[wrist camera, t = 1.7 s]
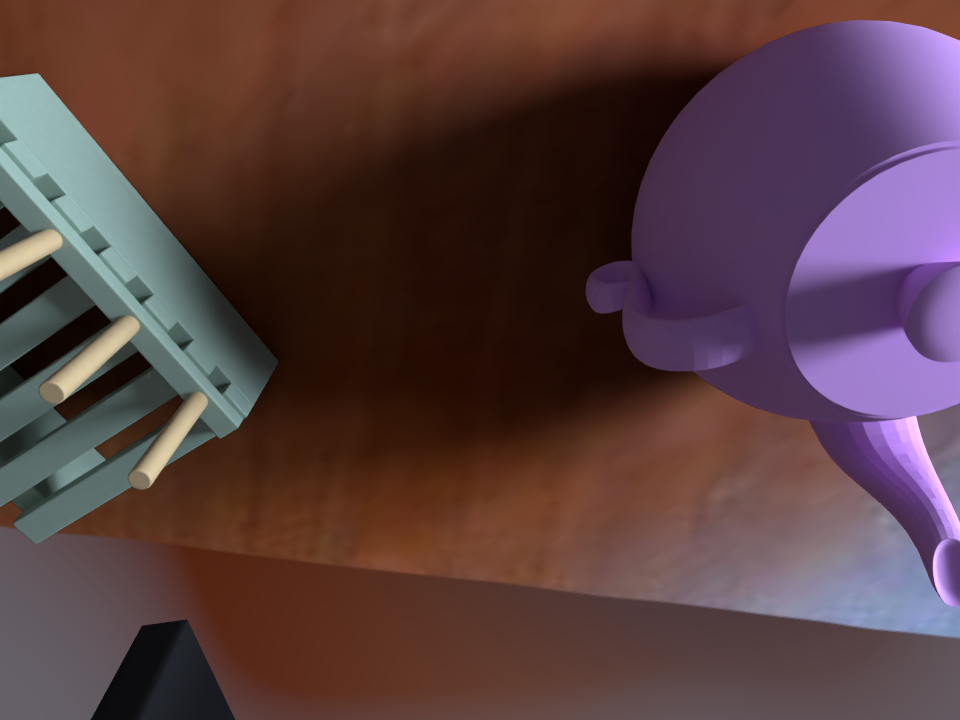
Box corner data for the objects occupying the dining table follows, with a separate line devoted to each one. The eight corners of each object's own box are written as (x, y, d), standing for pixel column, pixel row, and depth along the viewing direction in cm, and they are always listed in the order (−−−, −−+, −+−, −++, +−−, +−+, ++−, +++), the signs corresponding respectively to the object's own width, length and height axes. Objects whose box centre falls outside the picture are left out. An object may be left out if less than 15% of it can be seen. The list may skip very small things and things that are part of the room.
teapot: (630, 478, 42) (695, 672, 30) (532, 107, 33) (567, 159, 21) (1021, 379, 39) (1275, 545, 27) (1029, -54, 30) (1416, -107, 18)
